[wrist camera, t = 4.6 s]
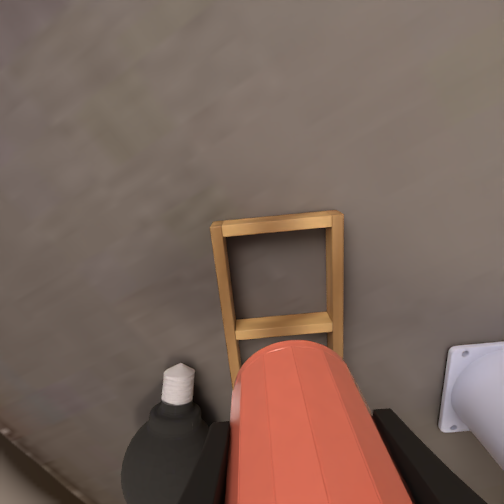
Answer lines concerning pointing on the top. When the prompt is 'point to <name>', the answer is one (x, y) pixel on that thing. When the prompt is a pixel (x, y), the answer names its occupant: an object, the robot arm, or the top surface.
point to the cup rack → (284, 323)
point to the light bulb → (165, 444)
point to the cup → (306, 433)
